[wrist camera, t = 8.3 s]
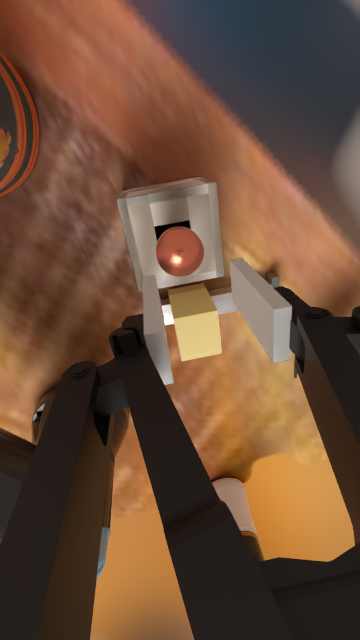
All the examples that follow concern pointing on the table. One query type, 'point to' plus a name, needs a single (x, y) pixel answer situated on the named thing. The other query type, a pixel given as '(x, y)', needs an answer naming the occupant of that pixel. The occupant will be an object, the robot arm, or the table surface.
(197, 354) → the carriage
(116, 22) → the table surface
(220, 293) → the rail
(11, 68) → the beer stein
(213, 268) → the grey open box
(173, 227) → the plunger
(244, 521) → the vodka
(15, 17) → the table surface
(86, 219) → the table surface
